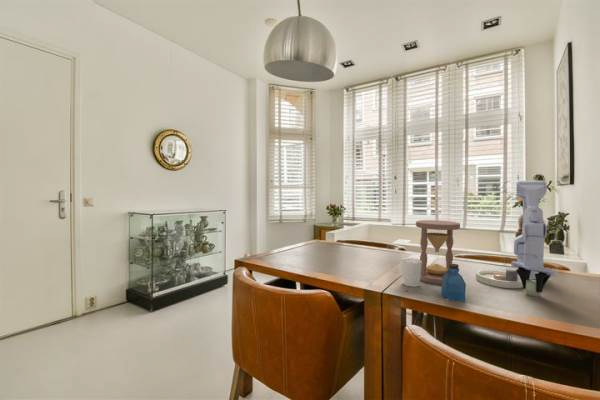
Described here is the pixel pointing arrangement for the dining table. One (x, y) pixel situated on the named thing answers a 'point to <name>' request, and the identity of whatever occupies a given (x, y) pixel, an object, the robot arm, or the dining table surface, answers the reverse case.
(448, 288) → the perfume bottle
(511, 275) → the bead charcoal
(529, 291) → the pale green rounded block
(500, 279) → the groove tray
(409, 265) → the white cup
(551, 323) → the dining table surface
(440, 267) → the hourglass
